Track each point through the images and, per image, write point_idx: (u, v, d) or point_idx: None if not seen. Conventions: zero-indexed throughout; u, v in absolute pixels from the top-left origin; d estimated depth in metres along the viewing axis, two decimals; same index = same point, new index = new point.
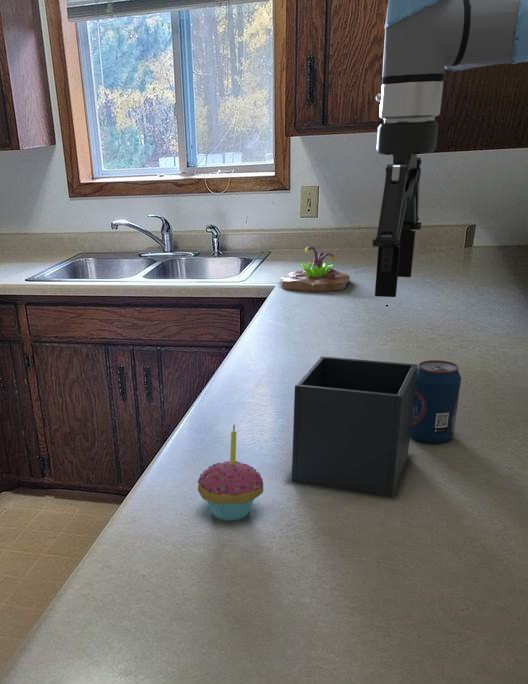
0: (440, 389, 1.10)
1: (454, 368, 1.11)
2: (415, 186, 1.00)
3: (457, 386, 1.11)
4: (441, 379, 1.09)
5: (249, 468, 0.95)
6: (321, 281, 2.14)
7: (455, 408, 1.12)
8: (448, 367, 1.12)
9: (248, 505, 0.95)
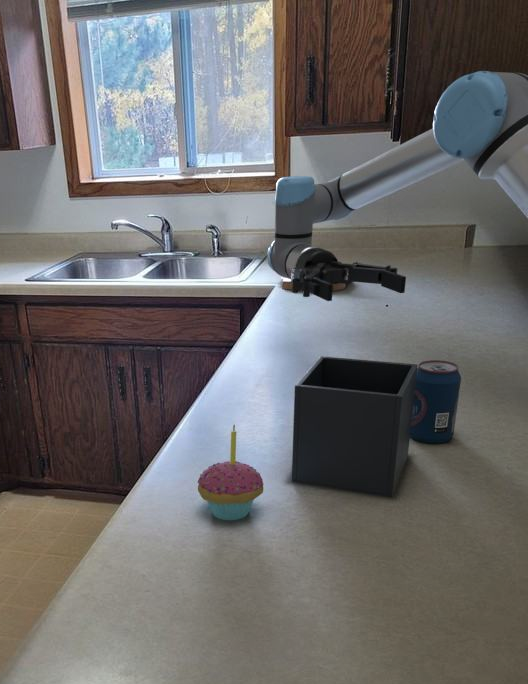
0: (440, 389, 1.10)
1: (454, 368, 1.11)
2: (342, 266, 1.35)
3: (457, 386, 1.11)
4: (441, 379, 1.09)
5: (249, 468, 0.95)
6: None
7: (455, 408, 1.12)
8: (448, 367, 1.12)
9: (248, 505, 0.95)
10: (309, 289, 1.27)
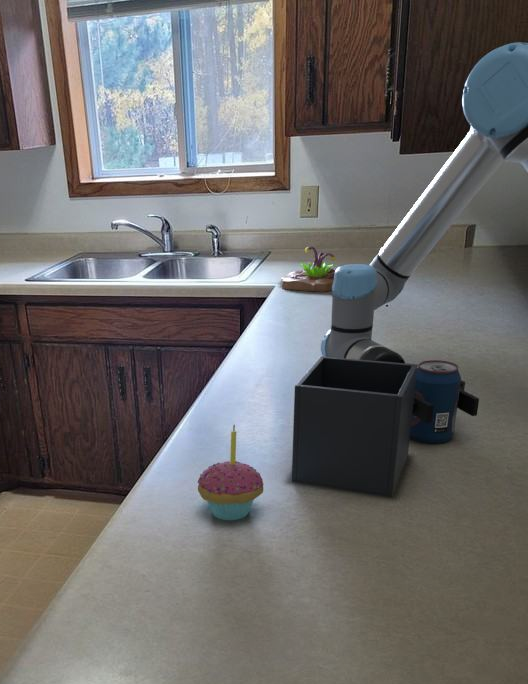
0: (440, 389, 1.10)
1: (454, 368, 1.11)
2: None
3: (457, 386, 1.11)
4: (441, 379, 1.09)
5: (249, 468, 0.95)
6: (321, 281, 2.14)
7: (455, 408, 1.12)
8: (448, 367, 1.12)
9: (248, 505, 0.95)
10: None
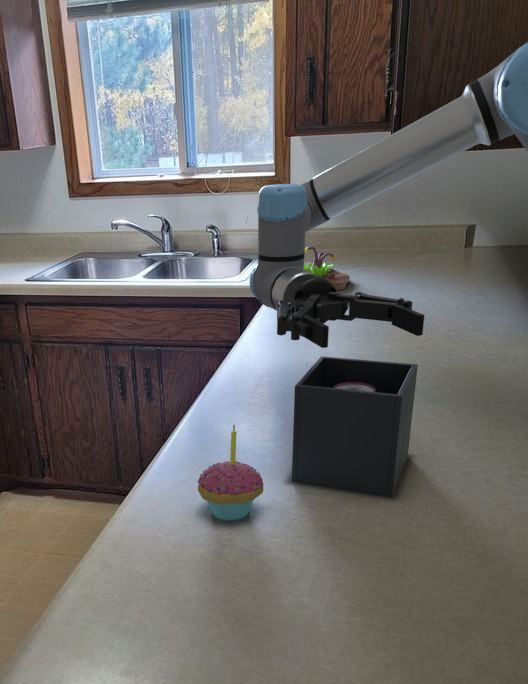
0: None
1: (371, 391, 1.02)
2: (341, 298, 1.06)
3: None
4: None
5: (249, 468, 0.95)
6: None
7: None
8: (365, 390, 1.02)
9: (248, 505, 0.95)
10: (298, 331, 0.98)
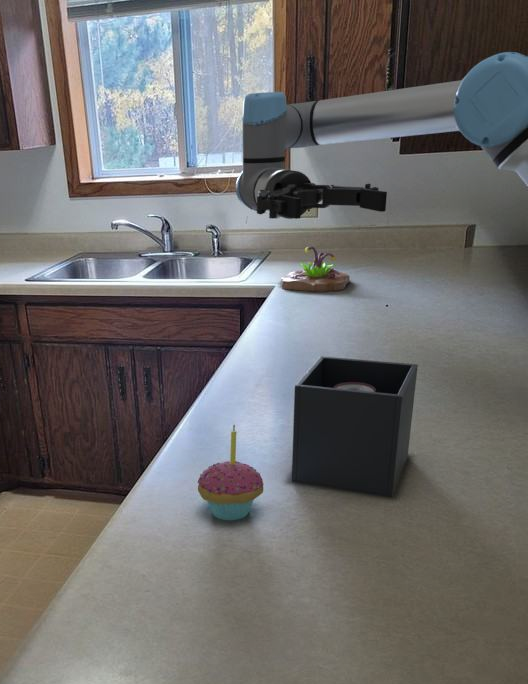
0: None
1: (371, 391, 1.02)
2: (316, 187, 1.18)
3: None
4: None
5: (249, 468, 0.95)
6: (321, 281, 2.14)
7: None
8: (365, 390, 1.02)
9: (248, 505, 0.95)
10: (275, 207, 1.10)
